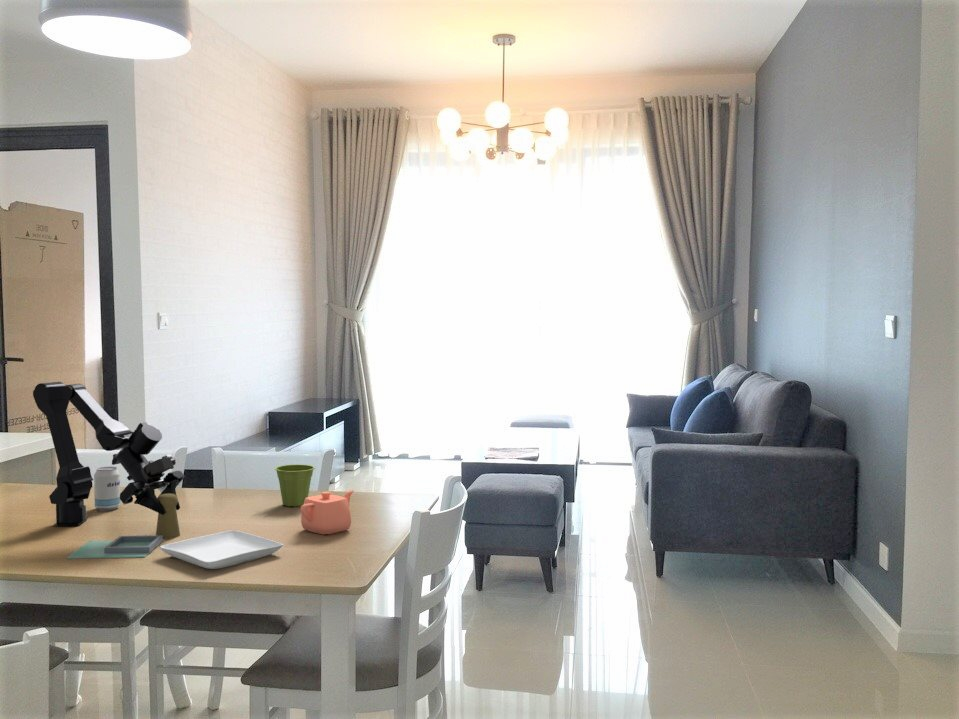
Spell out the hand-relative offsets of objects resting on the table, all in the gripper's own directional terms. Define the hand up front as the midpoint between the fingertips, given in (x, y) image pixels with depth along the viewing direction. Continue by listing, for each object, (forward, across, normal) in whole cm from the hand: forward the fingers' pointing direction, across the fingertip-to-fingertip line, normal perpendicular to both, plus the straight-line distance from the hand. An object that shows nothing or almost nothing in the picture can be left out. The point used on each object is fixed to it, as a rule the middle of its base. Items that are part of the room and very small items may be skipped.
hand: (171, 511), depth 222 cm
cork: (+4, 0, +6) cm, 7 cm away
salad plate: (+21, -10, -11) cm, 26 cm away
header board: (+2, -15, +8) cm, 17 cm away
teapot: (+29, +21, -19) cm, 41 cm away
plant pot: (+12, +43, -2) cm, 44 cm away
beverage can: (-22, +17, +32) cm, 42 cm away
